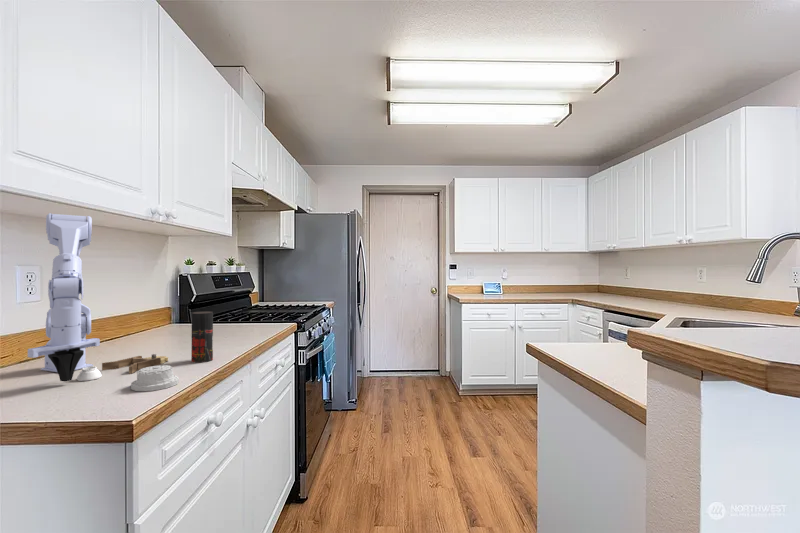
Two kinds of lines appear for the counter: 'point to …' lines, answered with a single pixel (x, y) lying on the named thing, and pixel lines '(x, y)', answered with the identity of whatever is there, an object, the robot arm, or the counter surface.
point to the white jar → (89, 374)
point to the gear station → (135, 363)
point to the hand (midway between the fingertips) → (66, 380)
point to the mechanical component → (154, 378)
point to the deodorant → (202, 337)
